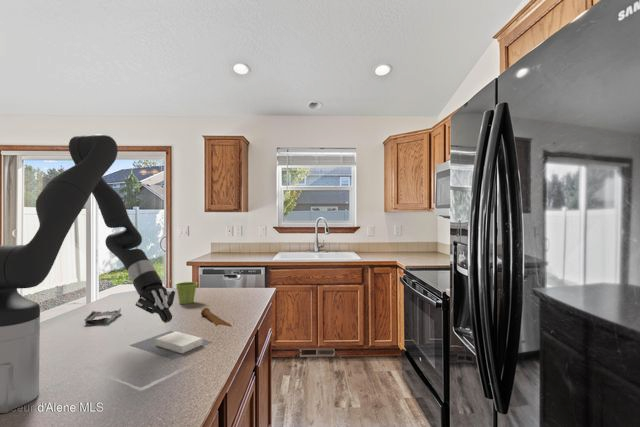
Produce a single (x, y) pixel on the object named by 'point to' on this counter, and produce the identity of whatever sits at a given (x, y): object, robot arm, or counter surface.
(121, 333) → the counter surface
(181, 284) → the plant pot
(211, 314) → the primitive tool
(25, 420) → the counter surface
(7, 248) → the robot arm
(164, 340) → the cream white block
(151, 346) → the rubber mat
